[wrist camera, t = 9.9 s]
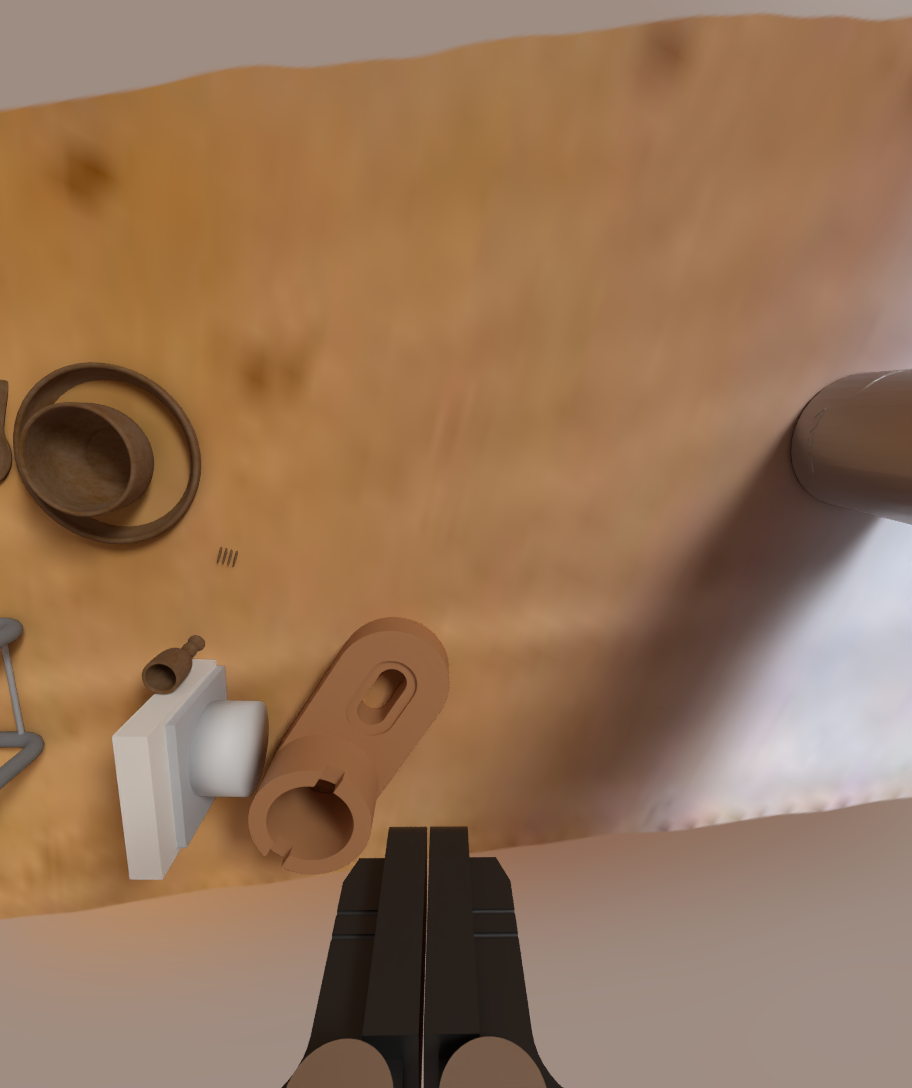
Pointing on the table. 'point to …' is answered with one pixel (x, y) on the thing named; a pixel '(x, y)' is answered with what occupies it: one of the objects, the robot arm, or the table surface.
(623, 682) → the table surface
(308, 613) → the table surface
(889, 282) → the table surface
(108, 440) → the place setting
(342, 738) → the bracket
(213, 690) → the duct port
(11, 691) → the newton's cradle
